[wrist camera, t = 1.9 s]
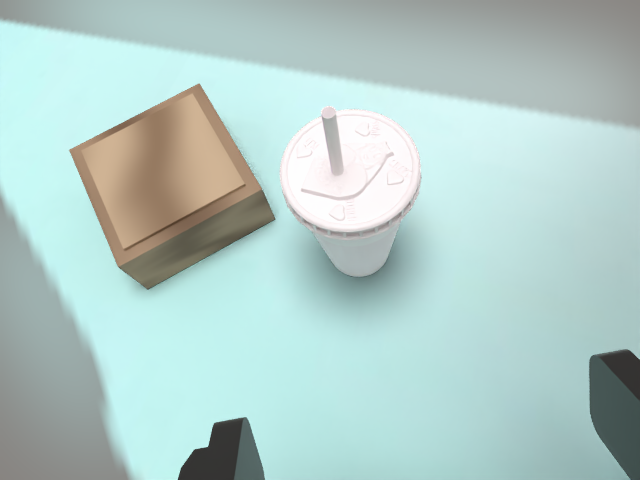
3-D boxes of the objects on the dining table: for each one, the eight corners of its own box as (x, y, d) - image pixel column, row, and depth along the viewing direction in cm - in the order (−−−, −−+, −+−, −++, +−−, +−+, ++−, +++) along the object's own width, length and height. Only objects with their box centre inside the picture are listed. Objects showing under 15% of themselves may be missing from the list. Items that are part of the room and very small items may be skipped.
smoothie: (290, 229, 34) (231, 81, 21) (380, 185, 34) (377, 14, 21) (335, 317, 31) (300, 211, 18) (432, 268, 32) (464, 132, 19)
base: (217, 120, 38) (198, 80, 34) (275, 219, 34) (261, 187, 30) (100, 181, 37) (67, 147, 33) (147, 289, 33) (116, 265, 29)
